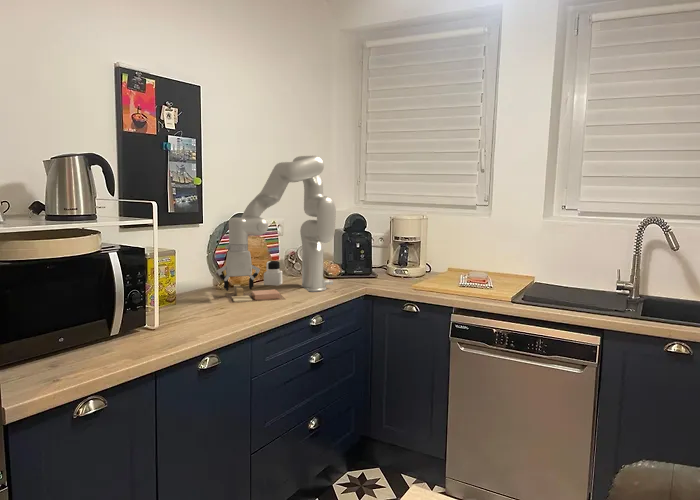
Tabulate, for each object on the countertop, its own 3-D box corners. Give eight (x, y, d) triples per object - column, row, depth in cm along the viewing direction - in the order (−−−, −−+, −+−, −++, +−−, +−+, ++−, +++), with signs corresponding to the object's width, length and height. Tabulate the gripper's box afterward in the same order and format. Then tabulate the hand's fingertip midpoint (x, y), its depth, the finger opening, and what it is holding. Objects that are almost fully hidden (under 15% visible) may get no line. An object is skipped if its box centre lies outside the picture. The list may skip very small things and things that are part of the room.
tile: (275, 289, 218) (279, 293, 211) (275, 294, 219) (279, 298, 211) (251, 290, 215) (255, 294, 208) (251, 295, 215) (255, 300, 208)
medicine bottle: (282, 285, 245) (282, 260, 243) (278, 288, 238) (278, 262, 236) (267, 285, 246) (267, 259, 244) (263, 288, 239) (263, 262, 237)
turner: (252, 301, 206) (252, 292, 206) (234, 302, 204) (234, 293, 203) (245, 292, 222) (245, 284, 221) (228, 293, 219) (228, 285, 219)
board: (277, 294, 225) (277, 291, 225) (285, 302, 210) (285, 299, 210) (225, 297, 218) (225, 294, 217) (230, 306, 203) (230, 302, 203)
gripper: (217, 249, 205) (218, 292, 208) (261, 248, 211) (261, 290, 214) (215, 247, 212) (216, 288, 215) (258, 246, 218) (258, 286, 221)
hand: (238, 289), depth 214 cm, fingers open, 9 cm apart
